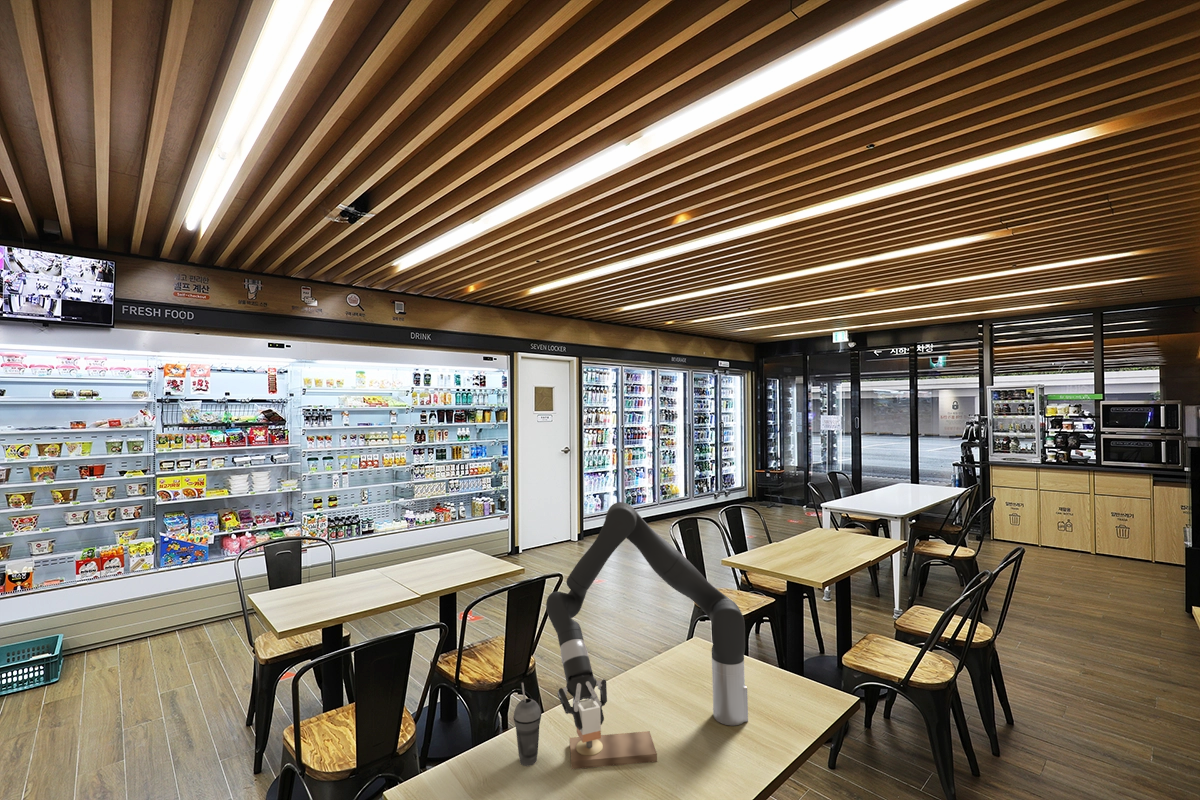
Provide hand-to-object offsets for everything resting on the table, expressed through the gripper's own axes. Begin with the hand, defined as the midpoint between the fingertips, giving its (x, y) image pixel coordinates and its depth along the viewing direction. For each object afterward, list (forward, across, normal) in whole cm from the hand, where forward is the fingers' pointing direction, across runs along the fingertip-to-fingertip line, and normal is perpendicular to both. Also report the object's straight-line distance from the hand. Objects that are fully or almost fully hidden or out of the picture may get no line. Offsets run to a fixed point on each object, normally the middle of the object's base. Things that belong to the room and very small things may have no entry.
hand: (590, 726), depth 143 cm
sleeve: (+1, 0, +4) cm, 4 cm away
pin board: (+6, +6, +6) cm, 10 cm away
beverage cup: (+2, -15, +10) cm, 19 cm away
